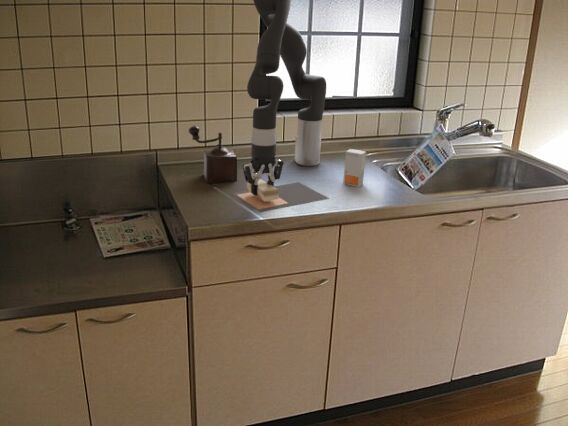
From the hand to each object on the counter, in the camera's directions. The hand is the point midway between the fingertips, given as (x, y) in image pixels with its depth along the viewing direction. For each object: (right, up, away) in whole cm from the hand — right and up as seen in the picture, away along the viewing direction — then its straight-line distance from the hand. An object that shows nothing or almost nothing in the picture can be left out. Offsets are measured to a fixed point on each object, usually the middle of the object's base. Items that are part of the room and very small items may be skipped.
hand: (262, 193), depth 191 cm
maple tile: (0, 0, 0) cm, 0 cm away
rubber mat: (+6, -1, +5) cm, 7 cm away
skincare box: (+31, +4, +20) cm, 37 cm away
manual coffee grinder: (-18, +6, +20) cm, 27 cm away
